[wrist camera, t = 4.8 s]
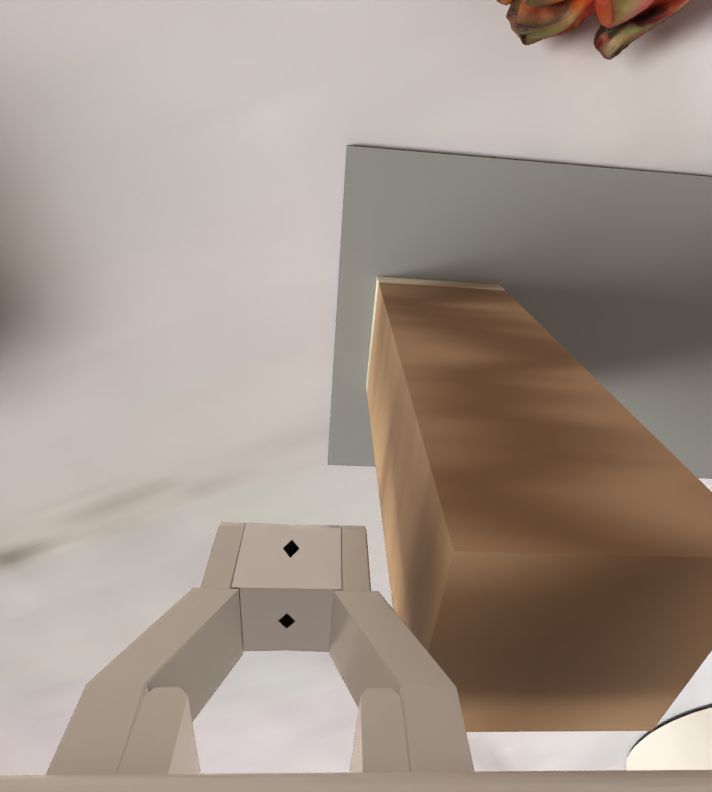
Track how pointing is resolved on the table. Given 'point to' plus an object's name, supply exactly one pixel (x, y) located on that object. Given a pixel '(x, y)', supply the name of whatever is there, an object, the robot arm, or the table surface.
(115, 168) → the table surface
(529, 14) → the dragon fruit
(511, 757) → the table surface
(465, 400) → the light brown wooden block
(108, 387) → the table surface
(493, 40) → the table surface
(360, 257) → the rubber mat
